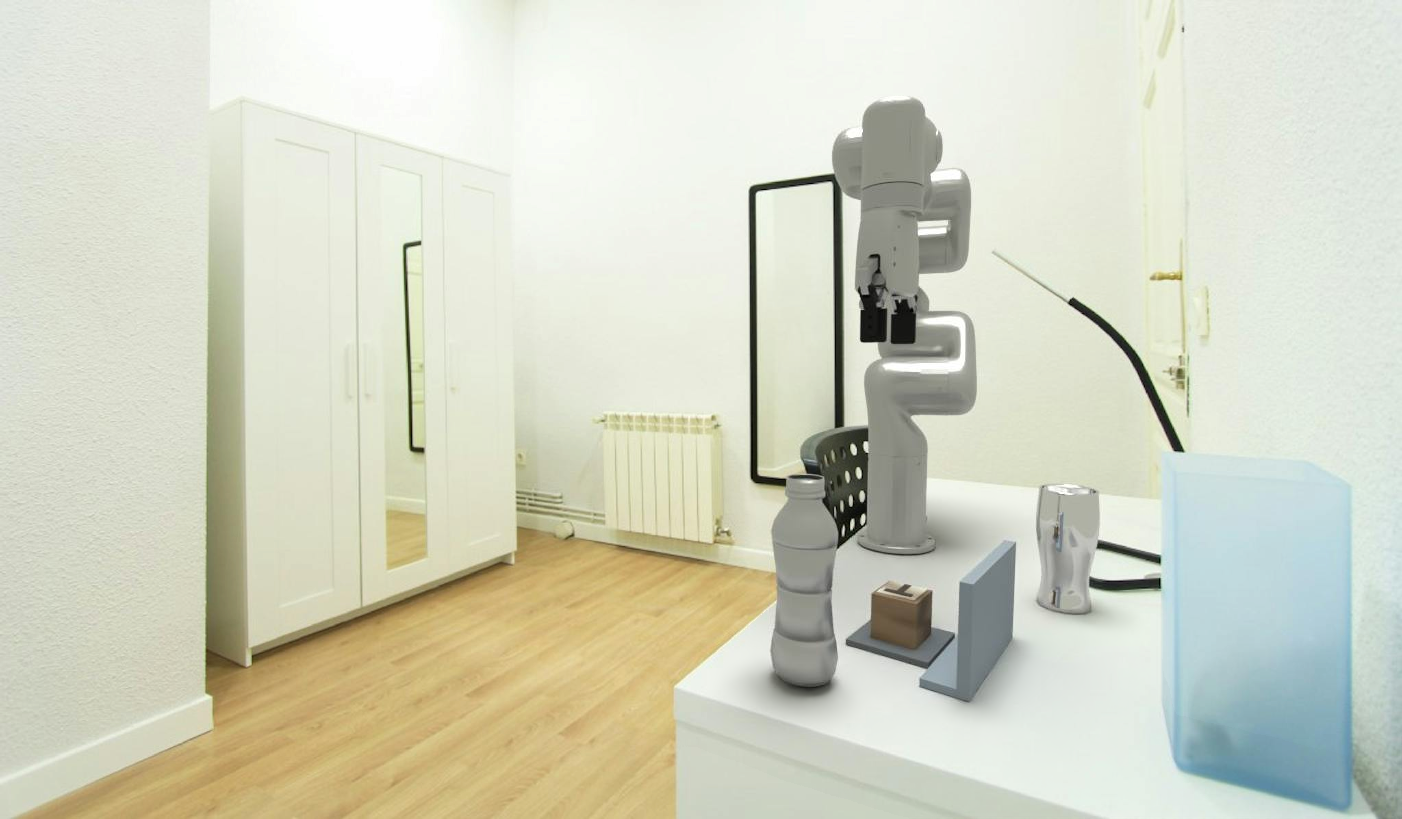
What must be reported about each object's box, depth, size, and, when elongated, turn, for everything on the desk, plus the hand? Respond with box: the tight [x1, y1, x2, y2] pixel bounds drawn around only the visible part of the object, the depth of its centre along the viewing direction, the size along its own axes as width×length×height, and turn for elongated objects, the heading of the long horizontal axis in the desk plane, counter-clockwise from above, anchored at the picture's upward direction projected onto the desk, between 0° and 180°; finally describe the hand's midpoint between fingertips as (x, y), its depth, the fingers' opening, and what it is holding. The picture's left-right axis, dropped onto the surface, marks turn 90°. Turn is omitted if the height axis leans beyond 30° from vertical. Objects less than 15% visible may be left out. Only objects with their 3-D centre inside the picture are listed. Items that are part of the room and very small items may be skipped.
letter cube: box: [870, 580, 933, 650], centre depth 71 cm, size 5×5×5 cm
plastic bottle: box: [769, 473, 839, 688], centre depth 62 cm, size 6×7×20 cm
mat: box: [845, 619, 956, 669], centre depth 71 cm, size 9×9×1 cm
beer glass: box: [1035, 483, 1101, 615], centre depth 81 cm, size 7×7×15 cm
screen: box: [918, 540, 1017, 703], centre depth 66 cm, size 17×5×11 cm, turn 142°
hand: (888, 343), depth 81 cm, fingers open, 9 cm apart
